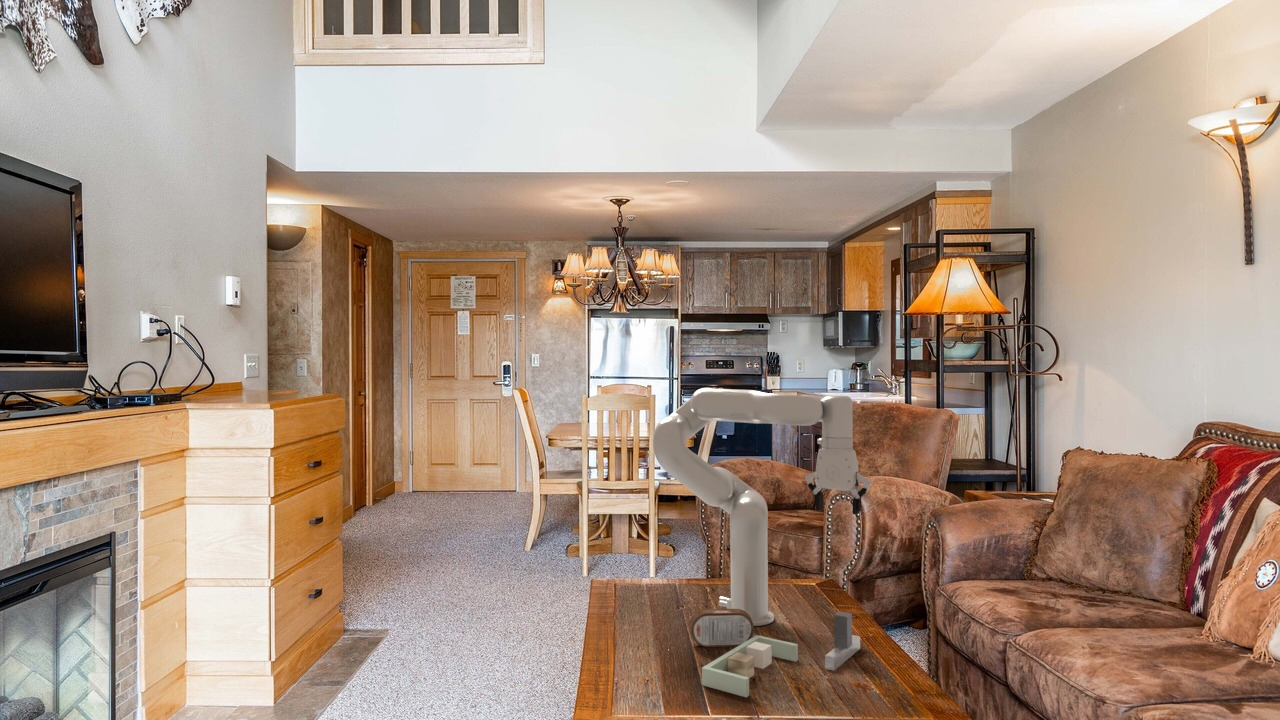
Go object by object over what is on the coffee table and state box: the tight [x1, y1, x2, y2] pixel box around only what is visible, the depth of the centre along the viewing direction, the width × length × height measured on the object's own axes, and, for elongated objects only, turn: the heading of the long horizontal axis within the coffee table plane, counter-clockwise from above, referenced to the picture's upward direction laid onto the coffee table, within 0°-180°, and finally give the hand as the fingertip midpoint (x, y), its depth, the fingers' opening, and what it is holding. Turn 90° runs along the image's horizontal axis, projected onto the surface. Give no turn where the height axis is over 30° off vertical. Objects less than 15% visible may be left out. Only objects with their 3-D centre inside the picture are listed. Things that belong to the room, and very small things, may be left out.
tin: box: [688, 608, 755, 648], centre depth 180 cm, size 15×3×8 cm, turn 94°
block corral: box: [701, 634, 799, 698], centre depth 164 cm, size 10×24×4 cm, turn 144°
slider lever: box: [824, 610, 861, 672], centre depth 172 cm, size 3×16×10 cm, turn 145°
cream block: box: [747, 642, 773, 670], centre depth 169 cm, size 4×4×4 cm
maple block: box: [728, 652, 755, 679], centre depth 162 cm, size 4×4×4 cm
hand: (837, 511), depth 196 cm, fingers open, 9 cm apart
